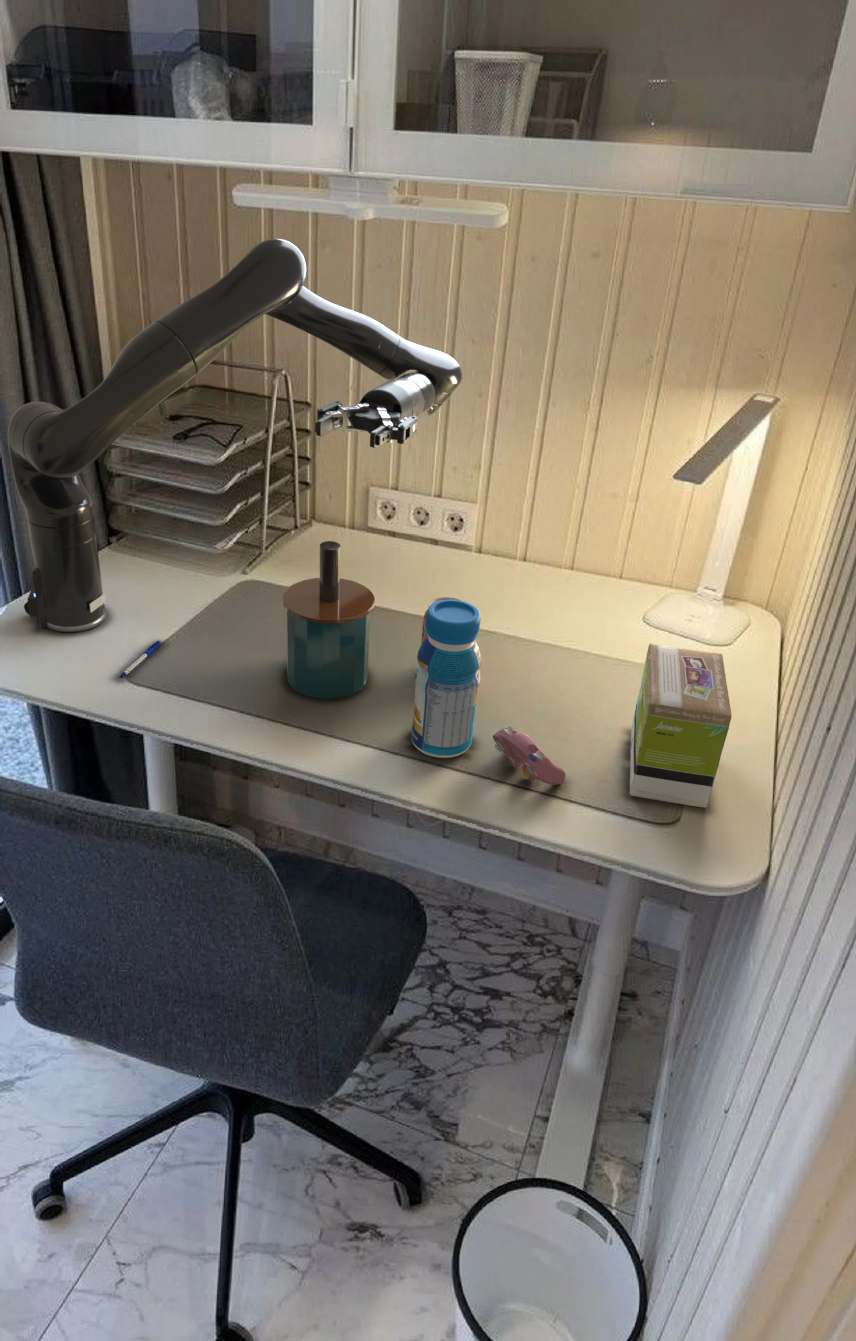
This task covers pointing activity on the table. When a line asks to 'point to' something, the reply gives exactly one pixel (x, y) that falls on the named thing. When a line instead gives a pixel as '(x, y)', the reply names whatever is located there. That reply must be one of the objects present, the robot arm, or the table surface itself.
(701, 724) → the tea box
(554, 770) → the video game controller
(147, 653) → the ballpoint pen
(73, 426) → the robot arm
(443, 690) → the beverage bottle
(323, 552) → the jug lid
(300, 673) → the teal cup
